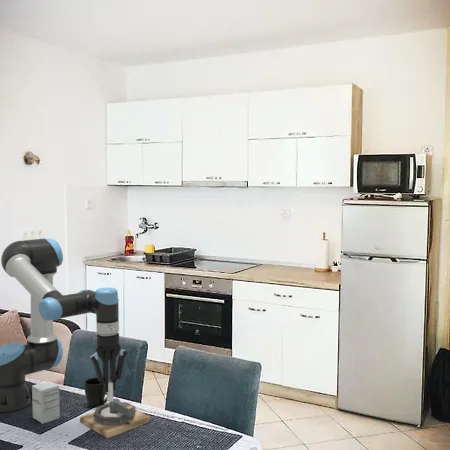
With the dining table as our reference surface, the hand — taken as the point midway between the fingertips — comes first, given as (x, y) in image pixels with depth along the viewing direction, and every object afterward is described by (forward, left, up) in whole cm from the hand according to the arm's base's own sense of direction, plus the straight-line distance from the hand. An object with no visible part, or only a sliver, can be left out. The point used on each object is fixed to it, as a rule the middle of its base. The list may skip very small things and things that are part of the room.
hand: (110, 400), depth 188 cm
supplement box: (-27, -10, -12) cm, 32 cm away
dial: (-4, +6, -9) cm, 12 cm away
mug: (-23, +10, -12) cm, 28 cm away
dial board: (-6, +6, -12) cm, 15 cm away
